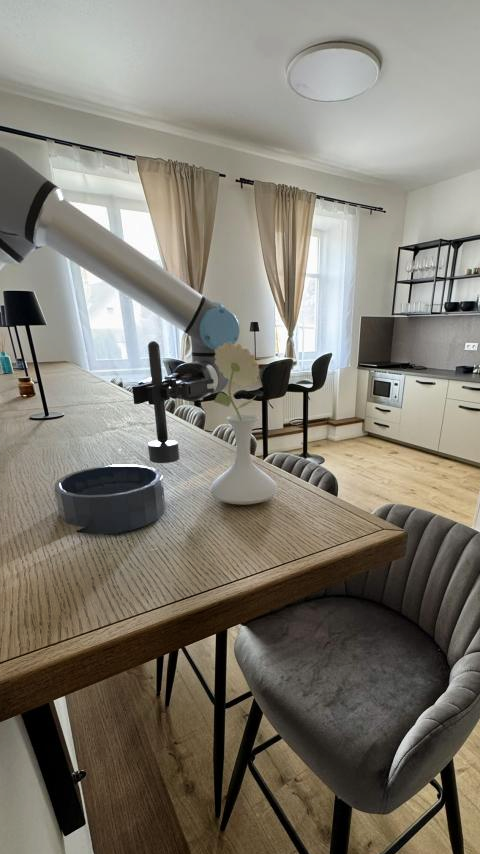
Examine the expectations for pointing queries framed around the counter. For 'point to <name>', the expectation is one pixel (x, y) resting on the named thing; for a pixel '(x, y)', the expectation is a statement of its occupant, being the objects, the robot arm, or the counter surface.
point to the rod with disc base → (160, 416)
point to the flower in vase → (240, 433)
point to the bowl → (111, 498)
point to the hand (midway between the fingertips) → (142, 395)
